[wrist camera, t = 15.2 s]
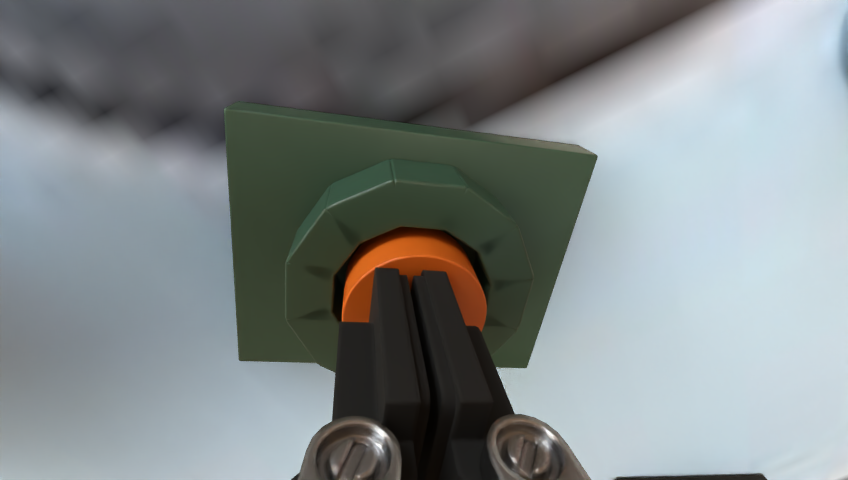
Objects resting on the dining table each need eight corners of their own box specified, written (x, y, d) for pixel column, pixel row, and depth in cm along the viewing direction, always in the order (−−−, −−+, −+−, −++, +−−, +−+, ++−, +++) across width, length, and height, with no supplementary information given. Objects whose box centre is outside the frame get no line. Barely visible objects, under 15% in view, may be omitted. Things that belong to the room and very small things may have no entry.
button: (341, 329, 12) (337, 373, 10) (349, 218, 11) (346, 250, 9) (459, 334, 13) (471, 376, 11) (483, 229, 11) (501, 261, 10)
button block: (247, 337, 14) (220, 406, 12) (237, 100, 11) (194, 121, 8) (516, 346, 16) (546, 408, 13) (579, 145, 13) (636, 174, 10)
